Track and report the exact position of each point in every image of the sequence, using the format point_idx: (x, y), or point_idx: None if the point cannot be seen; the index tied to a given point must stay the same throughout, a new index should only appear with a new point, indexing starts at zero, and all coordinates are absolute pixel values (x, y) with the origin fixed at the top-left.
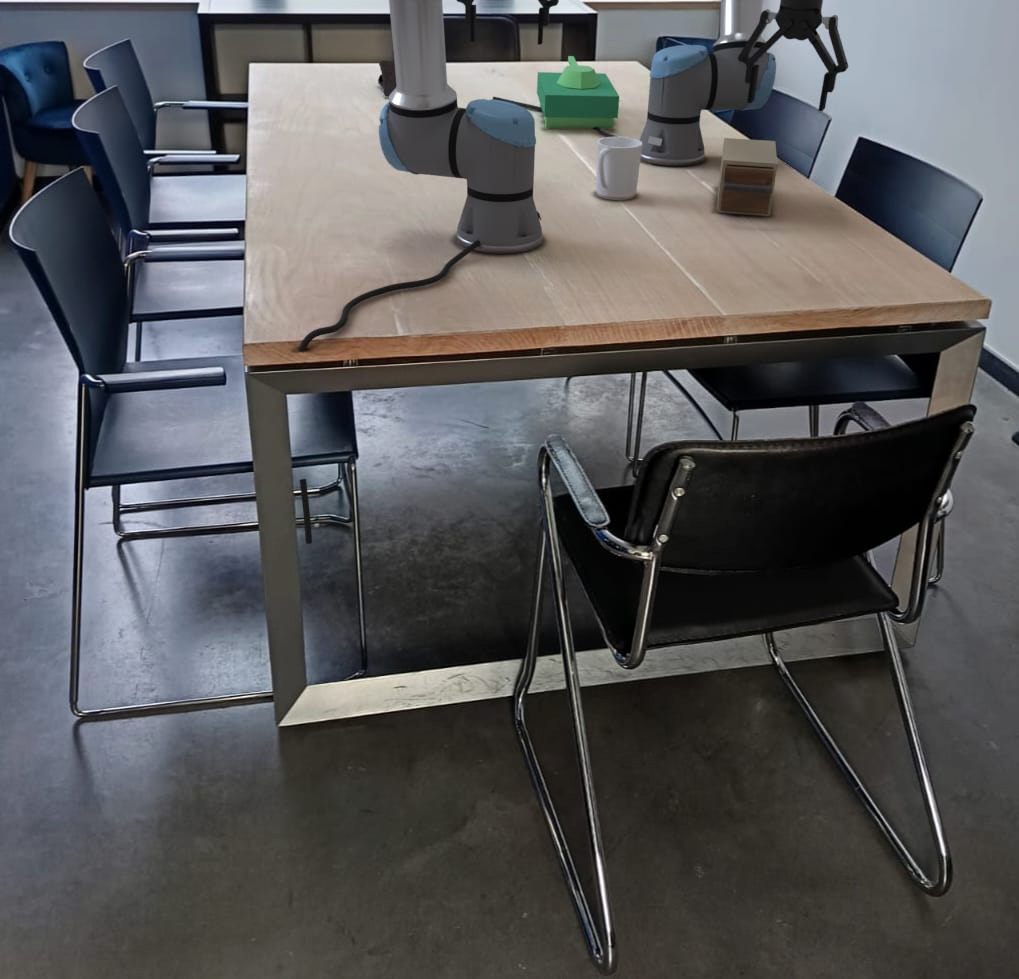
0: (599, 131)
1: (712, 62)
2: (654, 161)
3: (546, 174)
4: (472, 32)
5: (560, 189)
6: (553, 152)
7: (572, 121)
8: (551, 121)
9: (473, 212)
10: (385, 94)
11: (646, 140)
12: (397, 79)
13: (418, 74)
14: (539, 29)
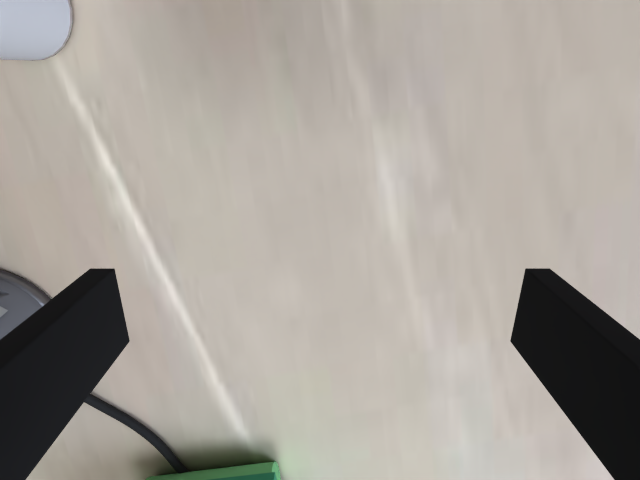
0: (171, 454)
1: None
2: (9, 276)
3: (223, 160)
4: (569, 295)
5: (167, 35)
6: (237, 326)
7: (221, 473)
8: (262, 468)
9: None
10: None
11: (11, 320)
12: None
13: None
14: (49, 319)
